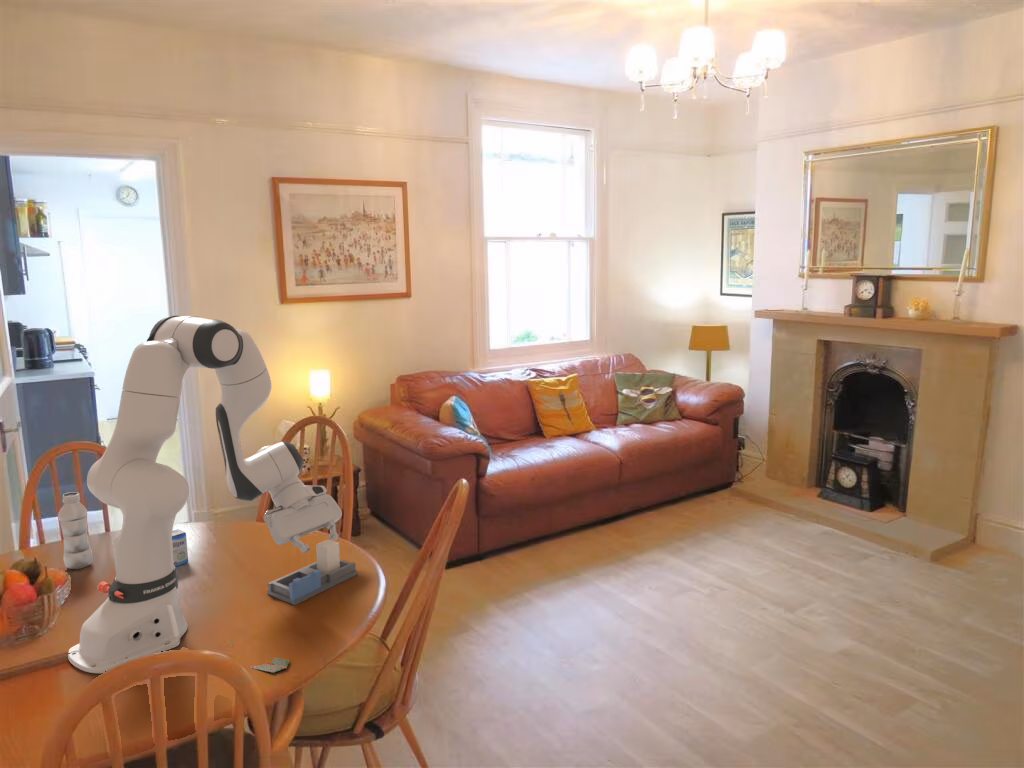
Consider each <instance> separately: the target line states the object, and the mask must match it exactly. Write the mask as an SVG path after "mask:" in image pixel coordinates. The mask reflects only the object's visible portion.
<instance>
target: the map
mask: <svg viewBox="0 0 1024 768" xmlns="http://www.w3.org/2000/svg"><path fill="white" fill-rule="evenodd" d="M232 647H234V643H232ZM290 662H291V661H290V659H287V658H280V657H273V658H272V660H271V661H270V662H266V663H261V664H256V665H252V666H249V667H248V668H250V669H255V670H258V671H259V670H260V671H265V672H270V673H276V672H279V671H281V670H284V669H287V668H288V665H289V663H290Z"/></svg>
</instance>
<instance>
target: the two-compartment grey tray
mask: <svg viewBox="0 0 1024 768" xmlns="http://www.w3.org/2000/svg"><path fill="white" fill-rule="evenodd" d="M356 566H357V565H356V562H353V561H352V562H351V561H348V560H345V559H341V558H340V568H339V569H337V570H335V571H332V572H330V573H328V574H326V573H323V572H321V571H320V570H317V560H316V561H315V562H311V563H310V564H308V565H306V566H303V567H301V568H298V569H296V570H294V571H292V572H290V573H287V574H285V575H282V576H281V577H278V578H276V579H274V580H272V581H269V582H267V589H266V594H267V595H268V596H271V597H273V598H275V599H278V600H280V601H283V602H286V603H288V604H291V605H292V606H296V605H298V604H299V603H302V602H305V601H306V600H308V599H310V598H312V597H314V596H316V595H318V594H321V593H322V592H324V591H326V590H329V589H331V588H332V587H334V586H337V585H338V584H341V583H342V582H345V581H347V580H349V579H350V578H351V579H352V578H353V577H355V576H357V575H358V570H357V567H356Z"/></svg>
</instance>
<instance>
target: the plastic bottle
mask: <svg viewBox="0 0 1024 768" xmlns="http://www.w3.org/2000/svg"><path fill="white" fill-rule="evenodd" d="M80 501H81V497H80V492H76V491H72V492H66V493H63V494H62V503H63V505H62V506H61V508H60V509H59V511H58V513H57V514H58V516H57V517H58V520H59V521H58V522H59V525H60V528H61V532H62V538H63V550H64V551H63V554H62V555H63V559H62V560H63V564H64V566H65V567H66V568H67V569H68V570H69V569H70V570H79V569H82V568H83V569H84V568H86V567H88V566H90V565H91V564H92V562H93V560H94V558H93V556H94V554H93V551H92V548H91V545H90V540H89V537H88V509H87V508H86V507H85V505H83V504H82V503H81V502H80Z"/></svg>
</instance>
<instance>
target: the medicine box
mask: <svg viewBox="0 0 1024 768" xmlns="http://www.w3.org/2000/svg"><path fill="white" fill-rule="evenodd" d="M172 547H173V561H174V565H175V567H176V568H177V567H179V566H183V565H186V564H188V563H189V553H188V542H187V532H185V531H184V530H182V529H174V530H172Z"/></svg>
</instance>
